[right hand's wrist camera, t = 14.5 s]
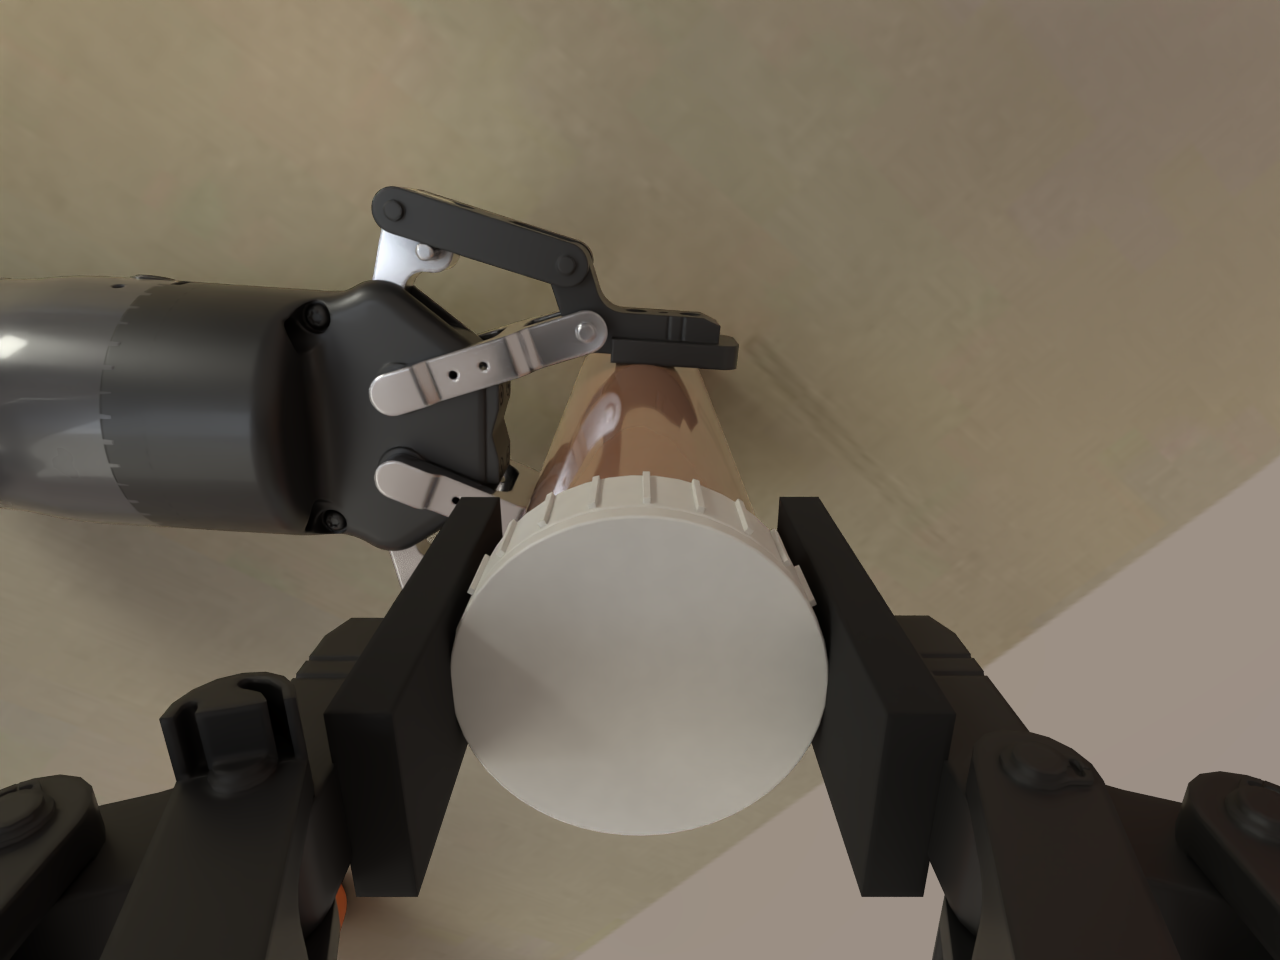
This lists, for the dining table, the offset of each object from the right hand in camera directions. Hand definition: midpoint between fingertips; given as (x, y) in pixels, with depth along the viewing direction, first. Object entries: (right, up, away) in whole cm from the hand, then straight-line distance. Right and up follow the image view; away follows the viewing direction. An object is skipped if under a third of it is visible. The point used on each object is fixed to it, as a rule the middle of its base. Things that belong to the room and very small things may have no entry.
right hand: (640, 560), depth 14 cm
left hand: (+3, +3, +8) cm, 9 cm away
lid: (0, -1, -4) cm, 4 cm away
